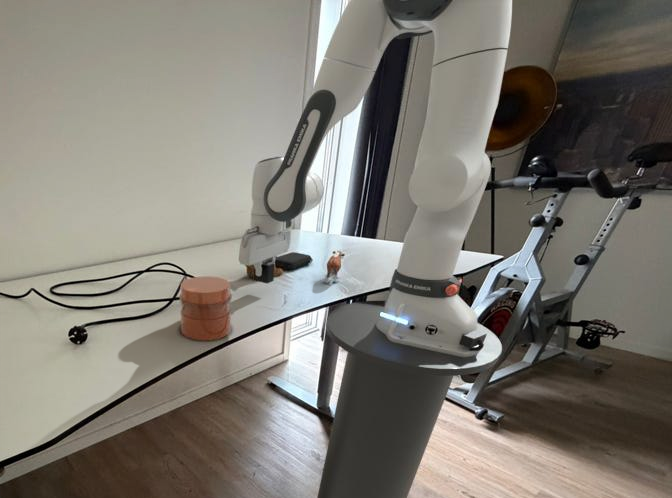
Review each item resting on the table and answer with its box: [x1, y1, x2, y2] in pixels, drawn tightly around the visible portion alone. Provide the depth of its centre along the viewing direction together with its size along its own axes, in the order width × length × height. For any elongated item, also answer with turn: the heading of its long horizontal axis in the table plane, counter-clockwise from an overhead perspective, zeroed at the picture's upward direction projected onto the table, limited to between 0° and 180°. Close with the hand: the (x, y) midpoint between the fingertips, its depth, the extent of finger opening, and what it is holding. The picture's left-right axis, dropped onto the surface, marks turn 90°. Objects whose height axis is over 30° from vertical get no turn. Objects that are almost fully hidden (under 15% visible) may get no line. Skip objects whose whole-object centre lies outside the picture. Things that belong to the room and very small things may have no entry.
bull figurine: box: [324, 249, 345, 284], centre depth 120 cm, size 4×13×8 cm, turn 152°
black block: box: [253, 260, 275, 284], centre depth 110 cm, size 5×3×6 cm, turn 45°
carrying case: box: [274, 251, 314, 271], centre depth 136 cm, size 11×3×15 cm
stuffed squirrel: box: [244, 255, 284, 279], centre depth 124 cm, size 10×14×13 cm
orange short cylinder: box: [178, 275, 233, 341], centre depth 89 cm, size 12×12×12 cm
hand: (263, 273), depth 110 cm, fingers closed on black block, 3 cm apart
